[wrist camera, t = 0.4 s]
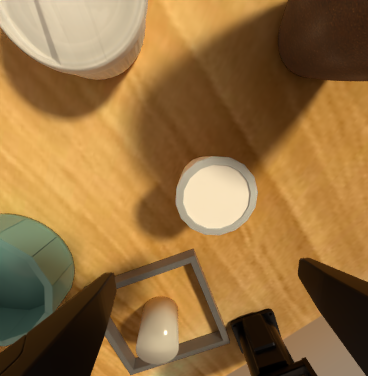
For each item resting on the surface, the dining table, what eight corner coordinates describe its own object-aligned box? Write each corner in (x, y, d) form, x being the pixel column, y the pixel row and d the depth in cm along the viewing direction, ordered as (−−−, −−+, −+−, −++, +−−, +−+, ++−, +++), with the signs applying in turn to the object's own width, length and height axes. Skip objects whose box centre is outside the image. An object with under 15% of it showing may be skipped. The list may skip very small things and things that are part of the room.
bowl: (94, 289, 25) (76, 321, 20) (0, 322, 25) (-36, 360, 21) (36, 196, 21) (1, 211, 17) (-71, 237, 22) (-132, 261, 17)
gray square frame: (227, 332, 28) (230, 342, 26) (132, 363, 28) (130, 375, 27) (193, 248, 24) (194, 255, 22) (84, 286, 25) (79, 296, 23)
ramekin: (8, 22, 17) (-64, -29, 12) (84, -86, 15) (39, -198, 10) (103, 114, 19) (77, 105, 14) (177, 29, 18) (178, -15, 13)
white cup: (164, 170, 21) (158, 184, 14) (216, 139, 21) (236, 139, 14) (193, 217, 23) (200, 249, 16) (241, 189, 22) (271, 211, 15)
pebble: (182, 317, 27) (184, 356, 22) (151, 328, 27) (146, 369, 22) (170, 291, 26) (169, 327, 21) (137, 303, 26) (128, 340, 21)
